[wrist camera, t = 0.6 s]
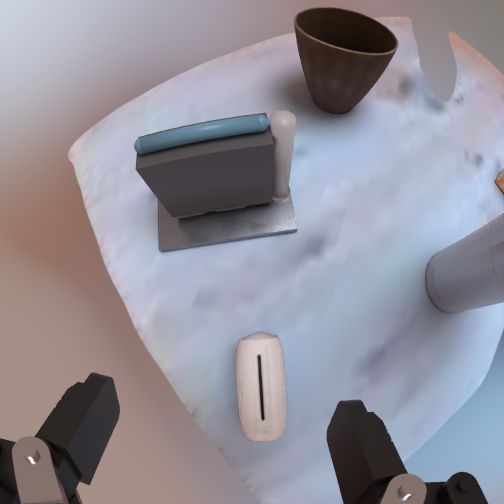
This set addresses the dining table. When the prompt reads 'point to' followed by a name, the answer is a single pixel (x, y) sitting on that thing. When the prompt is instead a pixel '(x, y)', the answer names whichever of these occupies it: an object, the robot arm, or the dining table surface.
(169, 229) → the panel
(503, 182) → the supplement box
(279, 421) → the photo printer
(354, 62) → the plant pot
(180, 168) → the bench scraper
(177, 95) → the dining table surface
